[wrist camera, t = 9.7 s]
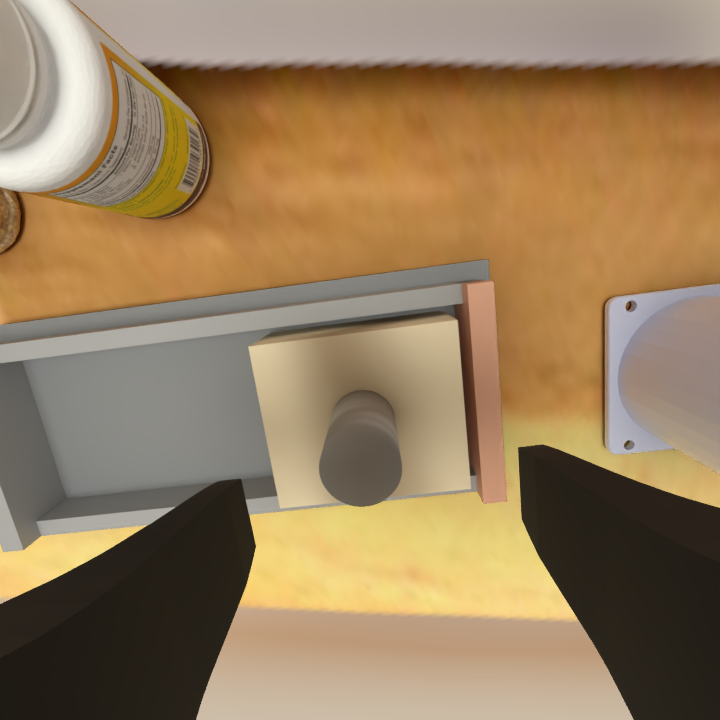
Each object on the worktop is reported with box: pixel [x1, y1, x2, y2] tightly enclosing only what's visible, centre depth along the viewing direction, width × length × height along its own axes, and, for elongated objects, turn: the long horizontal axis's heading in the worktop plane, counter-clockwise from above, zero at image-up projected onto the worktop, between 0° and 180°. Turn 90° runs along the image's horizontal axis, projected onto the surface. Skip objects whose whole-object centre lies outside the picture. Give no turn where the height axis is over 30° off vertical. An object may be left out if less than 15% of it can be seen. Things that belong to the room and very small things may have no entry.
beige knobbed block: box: [248, 311, 471, 509], centre depth 16 cm, size 8×7×8 cm
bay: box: [0, 259, 507, 552], centre depth 19 cm, size 24×11×4 cm, turn 98°
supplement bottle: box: [0, 0, 209, 219], centre depth 13 cm, size 6×6×10 cm
